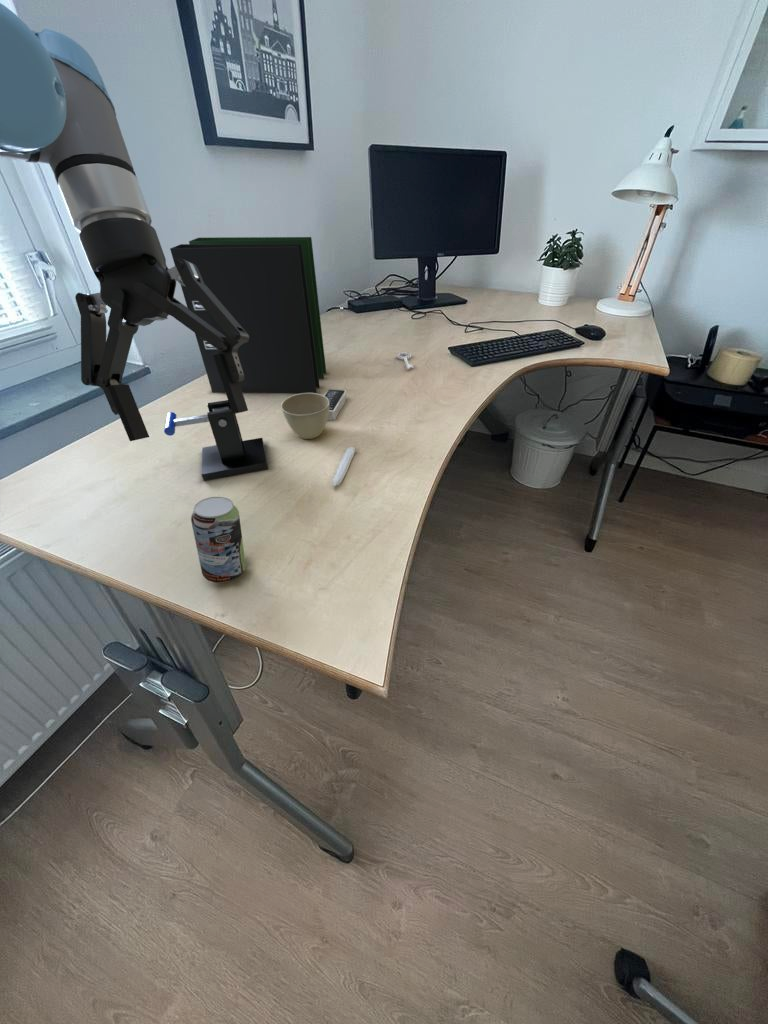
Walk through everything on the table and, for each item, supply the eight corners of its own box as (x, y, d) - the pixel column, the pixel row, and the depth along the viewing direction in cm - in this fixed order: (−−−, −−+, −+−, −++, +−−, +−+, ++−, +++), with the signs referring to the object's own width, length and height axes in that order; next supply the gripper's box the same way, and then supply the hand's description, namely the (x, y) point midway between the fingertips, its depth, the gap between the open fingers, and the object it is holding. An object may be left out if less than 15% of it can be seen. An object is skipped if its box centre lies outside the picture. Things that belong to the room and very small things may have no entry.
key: (410, 354, 128) (396, 354, 128) (410, 351, 128) (396, 351, 128) (415, 370, 119) (400, 370, 119) (415, 366, 119) (400, 367, 119)
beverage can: (195, 580, 62) (167, 517, 55) (230, 548, 67) (208, 486, 60) (229, 595, 60) (204, 532, 53) (262, 560, 65) (244, 497, 58)
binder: (326, 372, 120) (312, 236, 99) (315, 395, 108) (295, 248, 88) (232, 370, 122) (198, 237, 101) (211, 393, 111) (168, 249, 90)
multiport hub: (346, 399, 107) (346, 390, 105) (334, 420, 98) (333, 411, 97) (329, 397, 107) (328, 389, 106) (316, 418, 99) (314, 409, 98)
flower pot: (277, 440, 92) (271, 409, 88) (301, 419, 99) (297, 389, 95) (318, 449, 89) (314, 418, 84) (340, 426, 96) (337, 396, 91)
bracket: (203, 480, 81) (183, 424, 74) (204, 453, 89) (186, 400, 81) (268, 469, 84) (255, 413, 76) (263, 443, 91) (251, 390, 84)
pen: (330, 491, 78) (329, 483, 77) (349, 450, 89) (348, 443, 88) (338, 492, 78) (338, 484, 77) (356, 450, 88) (356, 443, 87)
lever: (166, 438, 76) (162, 426, 75) (169, 422, 81) (164, 410, 79) (232, 427, 79) (228, 415, 77) (231, 413, 83) (227, 401, 82)
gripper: (237, 205, 48) (295, 398, 53) (48, 272, 52) (120, 445, 57) (203, 175, 40) (274, 402, 46) (-13, 256, 45) (77, 454, 50)
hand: (189, 426), depth 52 cm, fingers open, 13 cm apart
